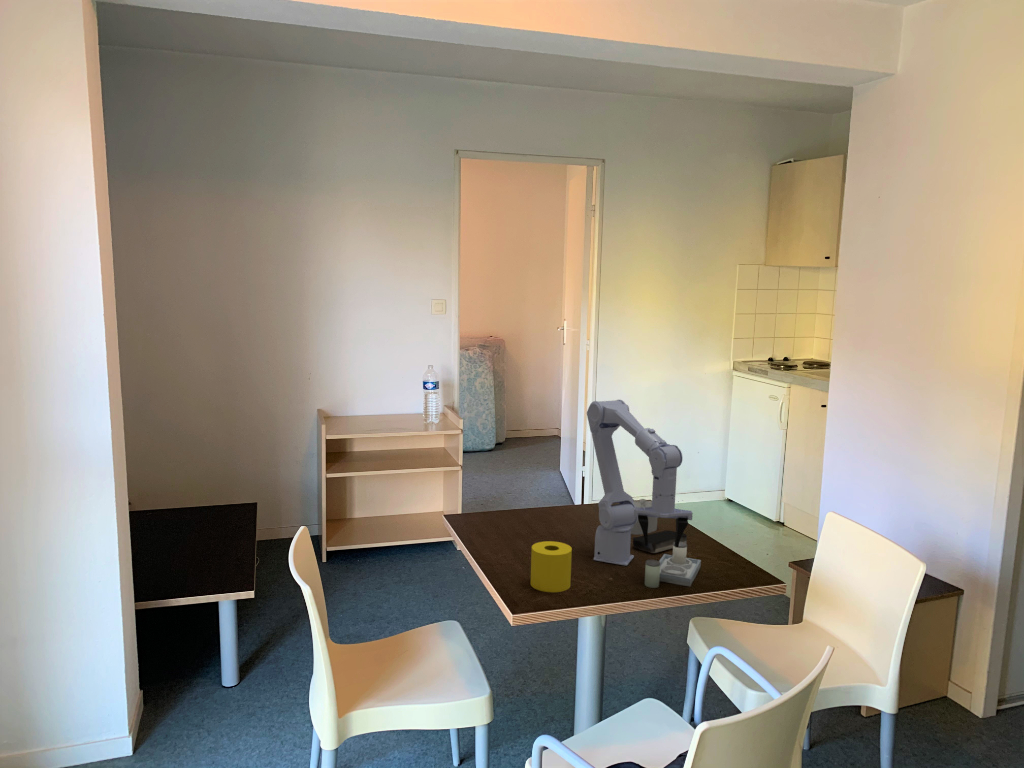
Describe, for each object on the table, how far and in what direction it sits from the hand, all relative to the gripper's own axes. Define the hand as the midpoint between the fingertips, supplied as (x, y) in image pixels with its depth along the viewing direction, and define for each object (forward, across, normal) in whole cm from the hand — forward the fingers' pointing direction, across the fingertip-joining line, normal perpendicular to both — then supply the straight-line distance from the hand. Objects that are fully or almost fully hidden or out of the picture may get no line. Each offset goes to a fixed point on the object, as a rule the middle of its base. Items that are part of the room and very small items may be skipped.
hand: (661, 545), depth 191 cm
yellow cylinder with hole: (+10, -28, -7) cm, 30 cm away
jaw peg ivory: (+8, +6, +10) cm, 14 cm away
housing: (+9, +5, +6) cm, 12 cm away
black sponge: (+10, +2, +27) cm, 29 cm away
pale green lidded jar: (+10, -2, -3) cm, 10 cm away
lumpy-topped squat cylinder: (+10, -3, +44) cm, 45 cm away
